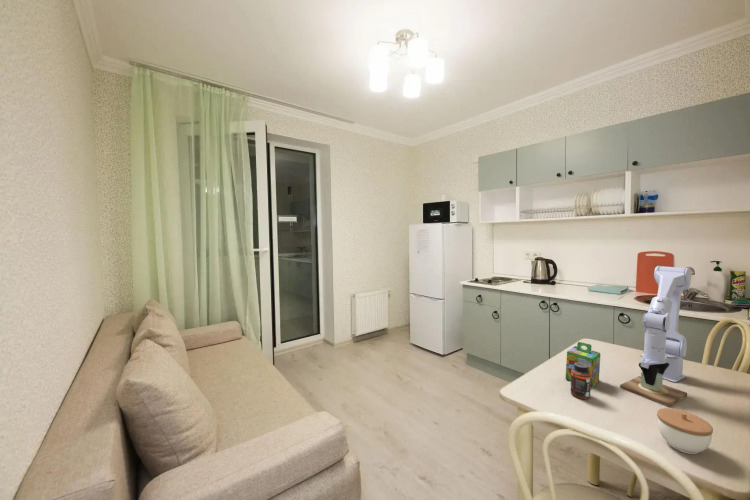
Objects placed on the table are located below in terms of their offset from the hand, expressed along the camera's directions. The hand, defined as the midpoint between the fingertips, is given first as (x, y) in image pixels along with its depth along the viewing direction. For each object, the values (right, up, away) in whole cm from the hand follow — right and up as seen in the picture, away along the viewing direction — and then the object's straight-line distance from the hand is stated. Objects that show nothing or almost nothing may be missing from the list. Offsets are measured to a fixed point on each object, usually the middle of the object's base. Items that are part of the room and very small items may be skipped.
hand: (653, 382), depth 111 cm
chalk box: (-19, -4, +10) cm, 22 cm away
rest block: (0, -2, 0) cm, 2 cm away
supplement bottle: (-27, -4, -1) cm, 28 cm away
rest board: (0, -4, 0) cm, 3 cm away
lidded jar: (-17, -6, -27) cm, 32 cm away
